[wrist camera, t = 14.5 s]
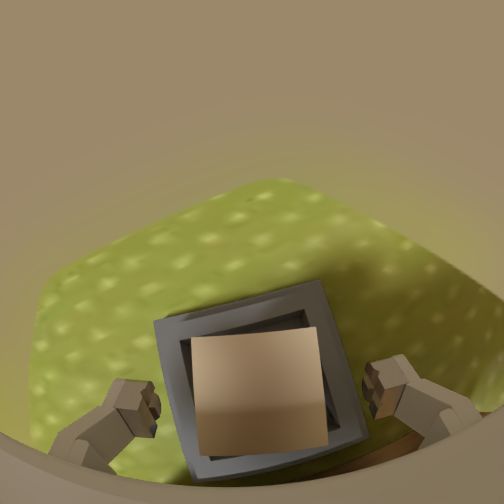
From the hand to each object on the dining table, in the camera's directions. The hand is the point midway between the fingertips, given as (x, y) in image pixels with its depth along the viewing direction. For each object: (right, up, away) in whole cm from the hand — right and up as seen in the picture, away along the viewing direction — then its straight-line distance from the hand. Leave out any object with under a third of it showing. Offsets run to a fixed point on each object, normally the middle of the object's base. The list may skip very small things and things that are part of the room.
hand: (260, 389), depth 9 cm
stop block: (0, -3, +6) cm, 6 cm away
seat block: (0, -3, +6) cm, 7 cm away
